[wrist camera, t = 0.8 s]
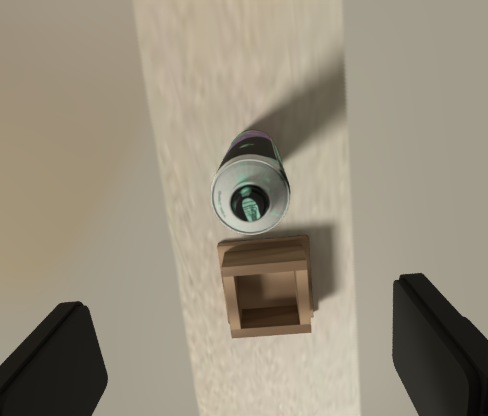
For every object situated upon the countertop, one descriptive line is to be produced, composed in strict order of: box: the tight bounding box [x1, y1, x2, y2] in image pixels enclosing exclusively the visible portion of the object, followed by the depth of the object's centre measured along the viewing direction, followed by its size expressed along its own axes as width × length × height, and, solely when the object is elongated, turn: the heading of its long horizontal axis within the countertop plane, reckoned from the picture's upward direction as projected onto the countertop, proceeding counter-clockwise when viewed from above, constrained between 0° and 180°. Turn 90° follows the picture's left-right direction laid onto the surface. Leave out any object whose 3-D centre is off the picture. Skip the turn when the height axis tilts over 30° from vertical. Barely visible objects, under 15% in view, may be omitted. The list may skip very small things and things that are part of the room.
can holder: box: [217, 235, 314, 338], centre depth 43 cm, size 11×11×5 cm
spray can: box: [211, 130, 290, 235], centre depth 31 cm, size 6×6×20 cm
